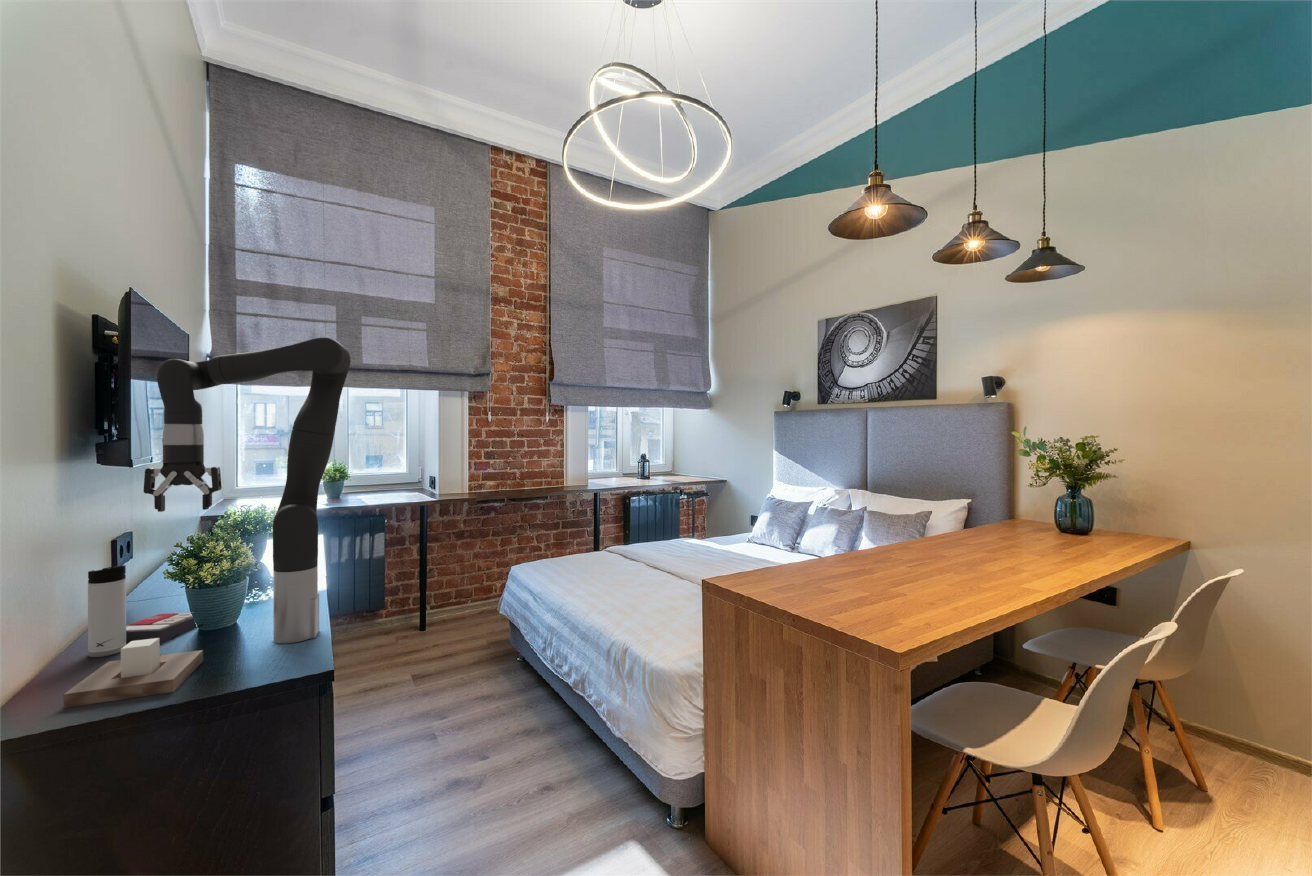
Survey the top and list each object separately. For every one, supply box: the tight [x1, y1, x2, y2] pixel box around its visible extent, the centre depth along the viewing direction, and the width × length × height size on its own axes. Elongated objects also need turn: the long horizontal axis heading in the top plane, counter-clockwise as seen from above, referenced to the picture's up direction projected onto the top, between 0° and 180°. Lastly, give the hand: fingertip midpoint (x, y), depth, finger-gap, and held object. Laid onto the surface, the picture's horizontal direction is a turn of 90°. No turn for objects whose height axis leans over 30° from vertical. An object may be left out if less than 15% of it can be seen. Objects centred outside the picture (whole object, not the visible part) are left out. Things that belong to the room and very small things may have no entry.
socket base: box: [63, 649, 204, 709], centre depth 112 cm, size 16×16×2 cm
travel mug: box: [87, 564, 127, 658], centre depth 127 cm, size 6×7×20 cm
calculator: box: [126, 612, 197, 645], centre depth 139 cm, size 11×4×15 cm
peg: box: [120, 638, 161, 678], centre depth 112 cm, size 4×4×8 cm
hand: (183, 510), depth 133 cm, fingers open, 8 cm apart
